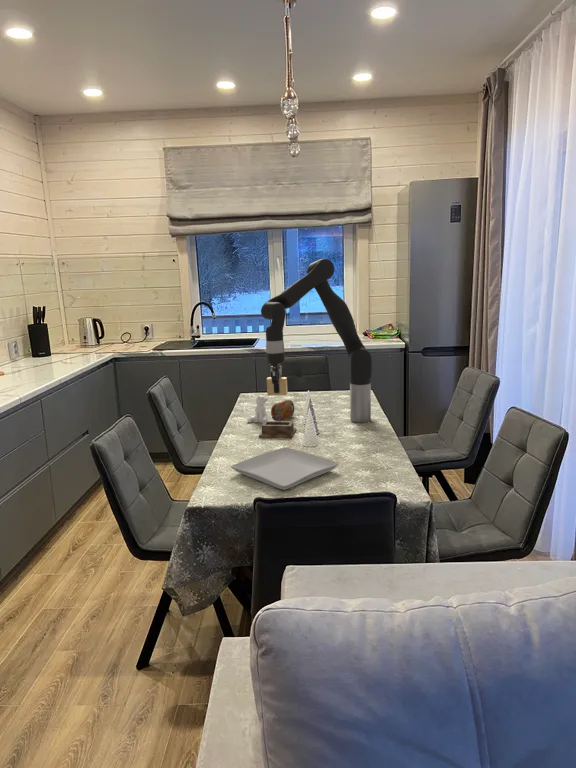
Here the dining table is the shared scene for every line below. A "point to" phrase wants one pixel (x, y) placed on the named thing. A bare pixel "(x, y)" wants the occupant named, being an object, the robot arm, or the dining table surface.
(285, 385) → the tan wooden block
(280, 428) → the slotted block
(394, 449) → the dining table surface
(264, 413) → the sitting furry creature
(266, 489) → the dining table surface
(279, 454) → the square plate
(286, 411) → the tin
